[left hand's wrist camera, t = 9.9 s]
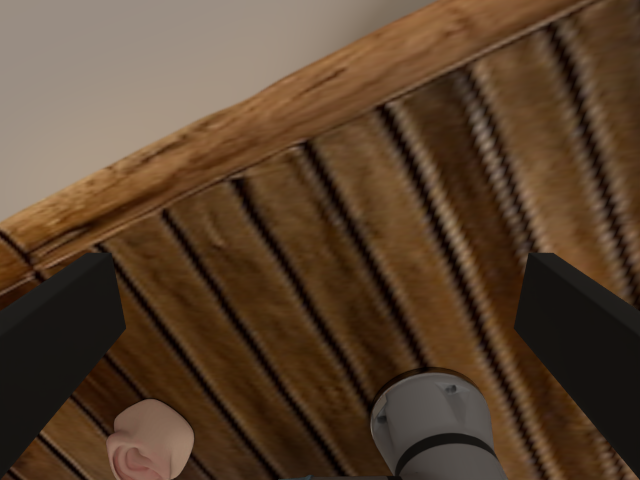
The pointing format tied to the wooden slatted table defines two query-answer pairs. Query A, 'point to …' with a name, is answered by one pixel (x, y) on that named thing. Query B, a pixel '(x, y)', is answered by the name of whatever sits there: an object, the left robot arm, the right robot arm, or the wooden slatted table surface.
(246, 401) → the wooden slatted table surface
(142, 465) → the anatomical model
